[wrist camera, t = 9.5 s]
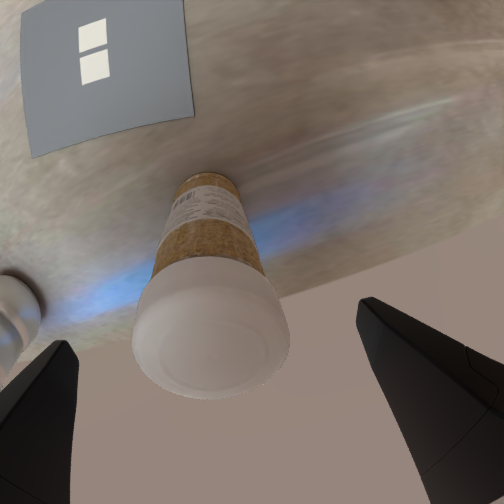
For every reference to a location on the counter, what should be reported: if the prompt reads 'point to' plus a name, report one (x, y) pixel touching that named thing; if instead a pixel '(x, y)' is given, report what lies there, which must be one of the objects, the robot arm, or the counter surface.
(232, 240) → the sprinkles bottle
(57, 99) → the mat
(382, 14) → the counter surface
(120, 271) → the counter surface
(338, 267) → the counter surface
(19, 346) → the plastic bottle
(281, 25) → the counter surface
